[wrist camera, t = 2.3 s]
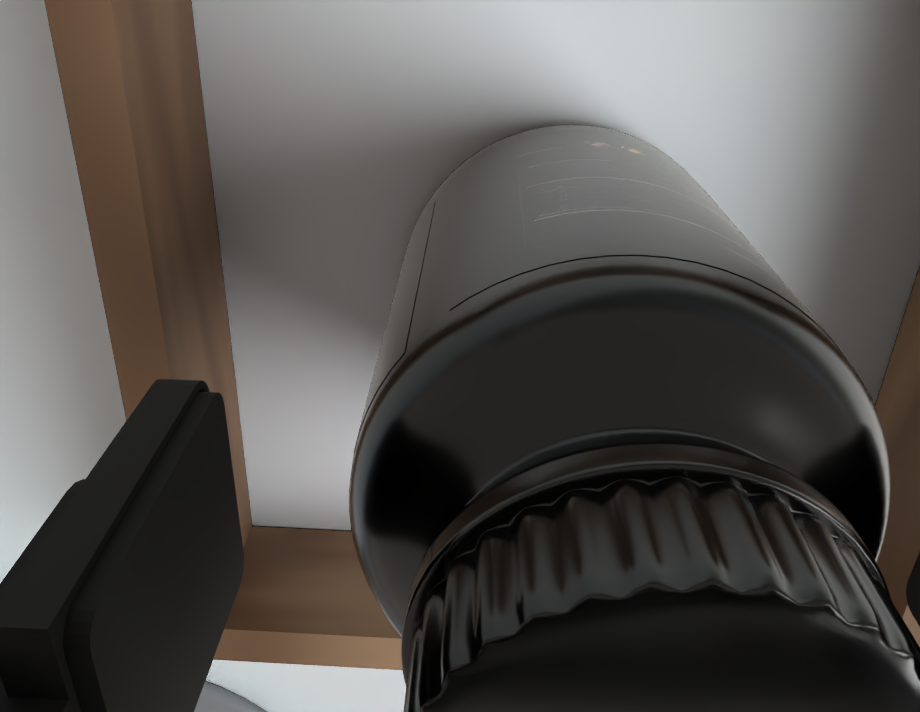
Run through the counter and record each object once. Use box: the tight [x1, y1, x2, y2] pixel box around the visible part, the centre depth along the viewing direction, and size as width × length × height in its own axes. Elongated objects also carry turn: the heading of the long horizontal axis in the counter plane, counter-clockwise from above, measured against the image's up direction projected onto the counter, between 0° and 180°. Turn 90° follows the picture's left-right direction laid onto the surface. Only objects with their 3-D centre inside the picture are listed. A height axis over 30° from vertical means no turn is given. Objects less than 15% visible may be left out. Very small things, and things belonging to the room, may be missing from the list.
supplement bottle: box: [349, 125, 920, 712], centre depth 12 cm, size 7×7×12 cm
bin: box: [45, 0, 920, 670], centre depth 16 cm, size 17×17×4 cm
